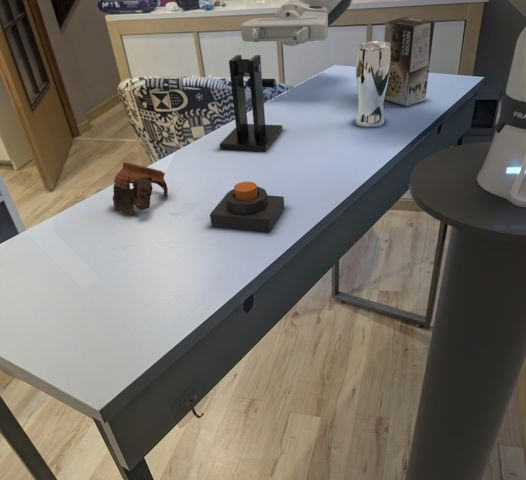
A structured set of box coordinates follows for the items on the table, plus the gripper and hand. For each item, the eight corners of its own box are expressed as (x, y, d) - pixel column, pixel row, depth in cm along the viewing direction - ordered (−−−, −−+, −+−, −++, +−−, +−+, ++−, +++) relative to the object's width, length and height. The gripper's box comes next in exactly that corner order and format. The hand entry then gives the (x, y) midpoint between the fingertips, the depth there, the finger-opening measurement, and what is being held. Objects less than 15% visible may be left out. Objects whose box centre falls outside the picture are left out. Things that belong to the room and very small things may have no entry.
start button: (260, 192, 84) (259, 182, 83) (253, 202, 81) (252, 192, 80) (239, 190, 85) (238, 180, 84) (232, 200, 82) (230, 190, 81)
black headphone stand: (240, 129, 117) (231, 50, 106) (282, 130, 114) (278, 49, 104) (220, 149, 109) (209, 66, 98) (265, 152, 106) (259, 66, 95)
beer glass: (378, 114, 117) (383, 39, 107) (391, 124, 112) (398, 45, 102) (349, 119, 116) (351, 43, 106) (361, 130, 111) (365, 51, 101)
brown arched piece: (105, 205, 94) (112, 158, 92) (156, 215, 99) (164, 171, 96) (117, 214, 84) (125, 162, 82) (173, 226, 89) (182, 176, 86)
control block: (284, 208, 87) (283, 185, 84) (269, 232, 81) (268, 208, 79) (229, 204, 90) (226, 181, 87) (211, 226, 84) (207, 203, 82)
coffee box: (426, 100, 122) (436, 20, 111) (406, 107, 119) (414, 25, 109) (399, 92, 128) (406, 15, 117) (379, 98, 125) (384, 20, 115)
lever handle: (249, 90, 113) (250, 78, 113) (275, 90, 112) (276, 78, 111) (228, 72, 102) (229, 59, 101) (257, 72, 100) (258, 59, 100)
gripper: (250, 9, 125) (230, 22, 116) (333, 6, 119) (319, 19, 110) (252, 39, 129) (233, 53, 120) (333, 38, 124) (319, 53, 114)
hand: (275, 37), depth 115 cm, fingers open, 8 cm apart
